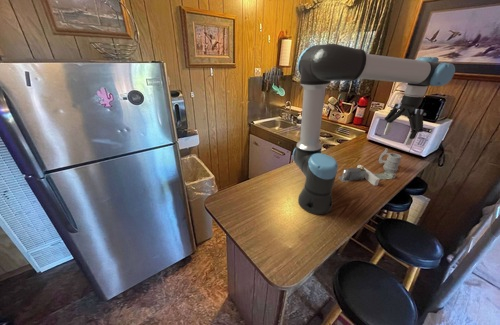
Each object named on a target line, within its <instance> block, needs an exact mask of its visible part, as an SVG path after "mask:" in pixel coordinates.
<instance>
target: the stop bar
mask: <svg viewBox="0 0 500 325" xmlns="http://www.w3.org/2000/svg"><path fill="white" fill-rule="evenodd" d="M364 168H365V167H364V166H363V167H360V168H357V167H352V168H346V169H347V170H348V174H347V177H346V178H347V179H348V180H349V182H352V181H353V182H354V181H363V180H364V176H365V173H366V170H365V169H364Z"/></svg>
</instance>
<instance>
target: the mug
mask: <svg viewBox="0 0 500 325" xmlns="http://www.w3.org/2000/svg"><path fill="white" fill-rule="evenodd" d="M386 155H387V157H386V160H384V156H386ZM402 158H403V157H402V155H401V154H398V153H396V152H389V149H388V148H385V149H384V151H383V152H382V153H381V154H380V155H379V158H378V163H379V164H380V165H381V164H383V165H382V166H383V168H382V169H383V170H384V171H385V169H389V170H391V171H392V172H394V173H396V172H397V171H399V165H400V164H401V160H402Z"/></svg>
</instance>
